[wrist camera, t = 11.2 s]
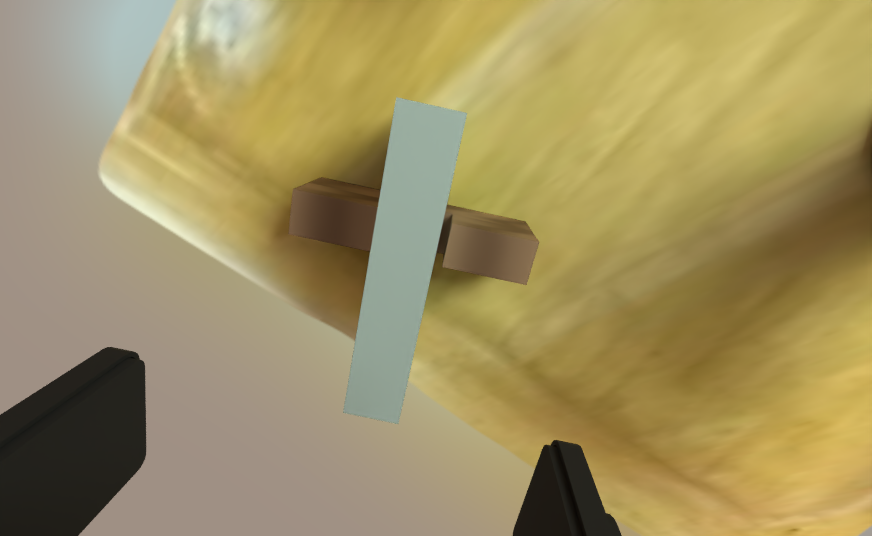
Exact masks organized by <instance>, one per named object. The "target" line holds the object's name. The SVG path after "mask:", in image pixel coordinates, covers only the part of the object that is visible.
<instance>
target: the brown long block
mask: <svg viewBox="0 0 872 536" xmlns="http://www.w3.org/2000/svg"><path fill="white" fill-rule="evenodd" d="M380 191H381V190H377V189H373V188H368V187H363V186H359V185H354V184H349V183H345V182H340V181H336V180H331V179H326V178H322V177H321V178H319V179H316V180H314V181H311V182H309V183H307V184H304V185H302V186H299V187H297V188H294V189H293V194H292V204H291V214H290V224H289V234H290V235H295V236H300V237H304V238H309V239H314V240H318V241H323V242H328V243H332V244H337V245H342V246H347V247H351V248H356V249H361V250H365V251H371V245H372V239H373V233H374V227H375V221H376V215H377V209H378V203H379V197H380ZM538 244H539V241H538V240H537V238H536V237H535V235H534V234H533V232H532V231H531V229H530V228H529V226H528V225H527V223H526V222H525V221H520V220H516V219H511V218H506V217H502V216H497V215H493V214H488V213H483V212H479V211H474V210H469V209H465V208H460V207H456V206H451V205H447V206H446V211H445V215H444V220H443V224H442V229H441V233H440V238H439V242H438V247H437V251H436V252H438V253H442V254H444V256H443V265H442V267H445V268H449V269H454V270H459V271H463V272H468V273H473V274H477V275H482V276H487V277H491V278H496V279H501V280H505V281H510V282H515V283H520V284H524V285H527V281H528V278H529V275H530V271H531V268H532V265H533V261H534V258H535V255H536V251H537V248H538Z"/></svg>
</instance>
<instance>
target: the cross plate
mask: <svg viewBox="0 0 872 536" xmlns="http://www.w3.org/2000/svg"><path fill="white" fill-rule="evenodd" d="M466 115H467V113H464V112H460V111H455V110H451V109H446V108H442V107H437V106H433V105H428V104H424V103H420V102H415V101H411V100H406V99H402V98H397V97H396V103H395V109H394V114H393V120H392V126H391V132H390V138H389V144H388V150H387V156H386V162H385V168H384V174H383V180H382V186H381V191H380V197H379V203H378V209H377V215H376V221H375V227H374V233H373V239H372V245H371V251H370V257H369V263H368V268H367V274H366V280H365V286H364V292H363V298H362V304H361V310H360V316H359V322H358V328H357V334H356V340H355V346H354V351H353V357H352V363H351V369H350V375H349V381H348V387H347V393H346V399H345V405H344V411H343V413H347V414H352V415H357V416H362V417H367V418H371V419H376V420H381V421H386V422H391V423H395V424H398V423H399V418H400V414H401V410H402V405H403V401H404V396H405V391H406V387H407V383H408V378H409V373H410V369H411V364H412V360H413V355H414V351H415V346H416V342H417V337H418V333H419V328H420V324H421V319H422V315H423V310H424V306H425V301H426V297H427V292H428V287H429V283H430V278H431V274H432V269H433V265H434V260H435V256H436V251H437V247H438V242H439V238H440V233H441V229H442V224H443V220H444V215H445V211H446V206H447V201H448V197H449V192H450V188H451V183H452V179H453V174H454V170H455V165H456V161H457V156H458V152H459V147H460V143H461V138H462V134H463V129H464V125H465V120H466Z"/></svg>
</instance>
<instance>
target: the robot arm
mask: <svg viewBox="0 0 872 536" xmlns="http://www.w3.org/2000/svg"><path fill="white" fill-rule="evenodd" d="M145 407H146V406H145V365H144V362H143V361H142V360H140V359H139V355H138V354H137V353H136V352H133V351H127V350H123V349H118V348H113V347H107V348H105V349H102V350H101V351H100V352H98V353H96V354H95V355H93V356H91V357H90V358H88V359H87V360H85V361H84V362H82V363H81V364H79V365H78V366H76V367H74V368H73V369H71V370H70V371H68V372H66V373H65V374H63V375H62V376H60V377H59V378H57V379H56V380H54V381H52V382H51V383H49V384H48V385H46V386H45V387H43V388H42V389H40V390H38V391H37V392H36V393H34V394H32V395H31V396H29V397H28V398H26V399H25V400H23V401H21V402H20V403H18V404H16V405H15V406H13V407H12V408H10V409H9V410H7V411H6V412H4V413H3V414H1V415H0V536H78V535H79V534H80V533H81V532H82V531H83V530H84V529H85V528H86V526H87V525H88V524H89V523H90V522H91V521H92V520H93V519H94V518H95V517H96V516H97V514H98V513H99V512H100V511H101V510H102V509H103V508H104V507H105V506H106V505H107V504H108V503H109V501H110V500H111V499H112V498H113V497H114V496H115V495H116V494H117V493H118V492H119V491H120V490H121V488H122V487H123V486H124V485H125V484H126V483H127V482H128V481H129V480H130V478H131V477H133V475H134V474H135V473H136V472H137V471H138V470H139V468H140V467H141V465H142V464H143V461H144V459H145V456H146V408H145ZM513 536H621V533H620V531H619V528H618V526H617V523H616V521H615V519H614V518H613V517H612V516H611V515H610V514H607V513H605V510H604V507H603V505H602V502H601V499H600V497H599V494H598V491H597V488H596V486H595V483H594V480H593V478H592V475H591V472H590V469H589V467H588V464H587V461H586V459H585V456H584V453H583V450H582V448H581V446H579V445H577V444H573V443H568V442H563V441H558V440H554V441H553V442H552V444H551V446H550V445H544V447H543V449H542V451H541V454H540V457H539V460H538V463H537V465H536V468H535V471H534V474H533V477H532V480H531V482H530V485H529V488H528V491H527V494H526V496H525V499H524V502H523V505H522V508H521V510H520V513H519V516H518V519H517V522H516V524H515V527H514V531H513Z"/></svg>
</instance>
